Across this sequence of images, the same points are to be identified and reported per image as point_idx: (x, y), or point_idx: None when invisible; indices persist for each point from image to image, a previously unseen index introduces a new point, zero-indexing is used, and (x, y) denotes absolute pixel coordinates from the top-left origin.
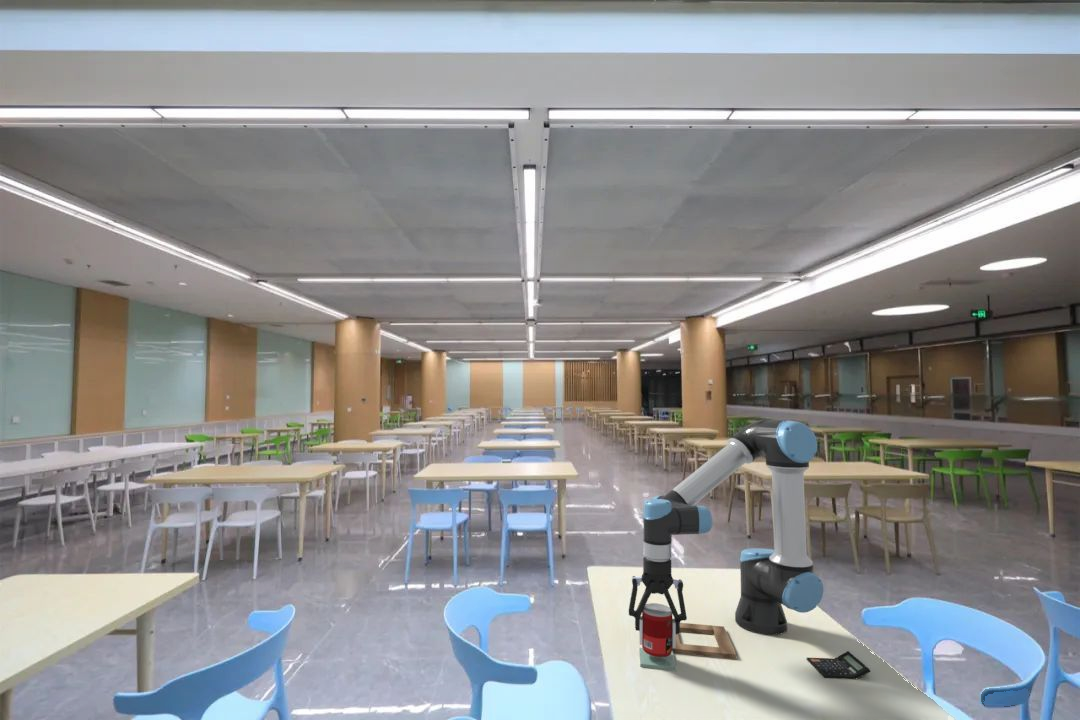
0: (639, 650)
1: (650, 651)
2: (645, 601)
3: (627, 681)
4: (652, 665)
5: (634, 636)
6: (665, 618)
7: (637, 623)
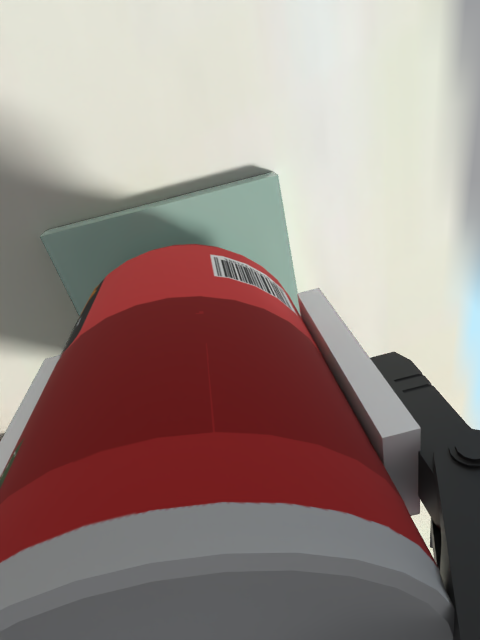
0: None
1: (223, 251)
2: None
3: None
4: (195, 195)
5: None
6: None
7: (415, 400)
